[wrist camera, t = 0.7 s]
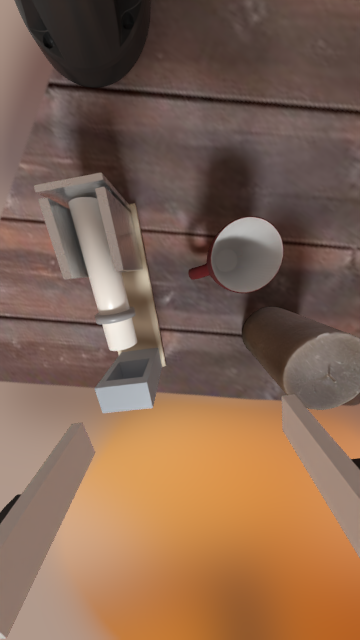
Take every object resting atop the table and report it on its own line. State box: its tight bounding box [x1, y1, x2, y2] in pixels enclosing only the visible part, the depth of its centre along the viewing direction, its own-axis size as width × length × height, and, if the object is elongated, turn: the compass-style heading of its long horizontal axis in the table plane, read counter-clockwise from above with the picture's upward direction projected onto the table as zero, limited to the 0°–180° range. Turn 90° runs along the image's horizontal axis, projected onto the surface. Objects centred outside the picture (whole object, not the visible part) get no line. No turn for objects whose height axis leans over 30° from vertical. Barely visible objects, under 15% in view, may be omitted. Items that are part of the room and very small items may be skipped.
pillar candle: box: [242, 307, 360, 410], centre depth 25 cm, size 10×10×15 cm
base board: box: [118, 203, 166, 366], centre depth 31 cm, size 28×8×1 cm, turn 8°
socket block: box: [95, 348, 162, 413], centre depth 28 cm, size 4×7×10 cm, turn 98°
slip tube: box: [68, 197, 137, 351], centre depth 23 cm, size 18×5×5 cm, turn 8°
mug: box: [189, 216, 284, 293], centre depth 24 cm, size 11×8×10 cm
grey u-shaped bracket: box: [34, 172, 143, 279], centre depth 23 cm, size 9×7×10 cm
